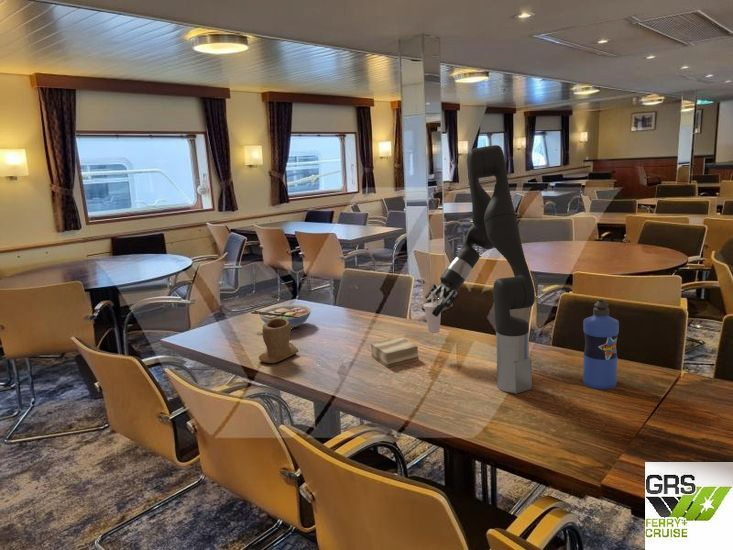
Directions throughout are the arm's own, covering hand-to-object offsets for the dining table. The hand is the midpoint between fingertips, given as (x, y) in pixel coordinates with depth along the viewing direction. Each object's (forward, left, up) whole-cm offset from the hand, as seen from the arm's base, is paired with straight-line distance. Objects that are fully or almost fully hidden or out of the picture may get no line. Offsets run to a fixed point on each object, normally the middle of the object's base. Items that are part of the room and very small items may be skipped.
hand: (428, 313), depth 184 cm
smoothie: (0, -2, -7) cm, 7 cm away
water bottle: (-46, -29, -17) cm, 57 cm away
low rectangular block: (+7, +11, -16) cm, 21 cm away
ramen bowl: (+67, +32, -17) cm, 76 cm away
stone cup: (+32, +45, -17) cm, 57 cm away
